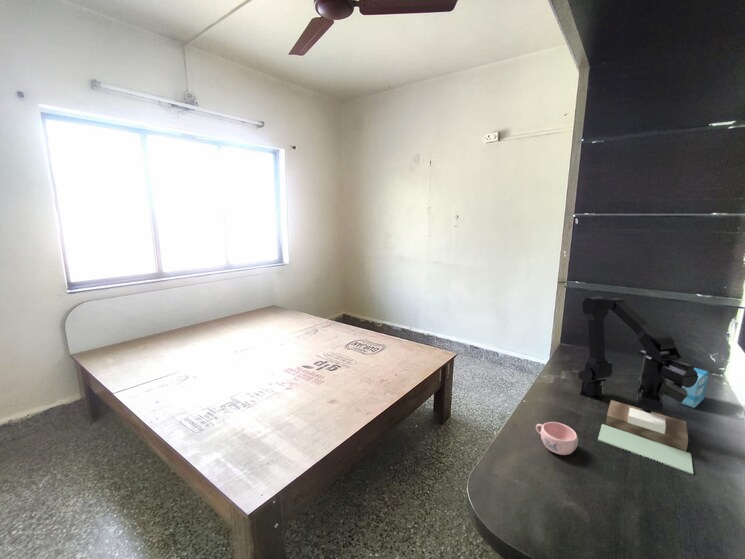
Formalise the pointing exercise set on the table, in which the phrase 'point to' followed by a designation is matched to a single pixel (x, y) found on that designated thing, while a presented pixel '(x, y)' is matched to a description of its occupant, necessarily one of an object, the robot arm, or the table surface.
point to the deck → (673, 431)
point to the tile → (647, 420)
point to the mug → (558, 437)
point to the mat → (647, 448)
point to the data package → (696, 389)
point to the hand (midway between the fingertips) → (646, 415)
